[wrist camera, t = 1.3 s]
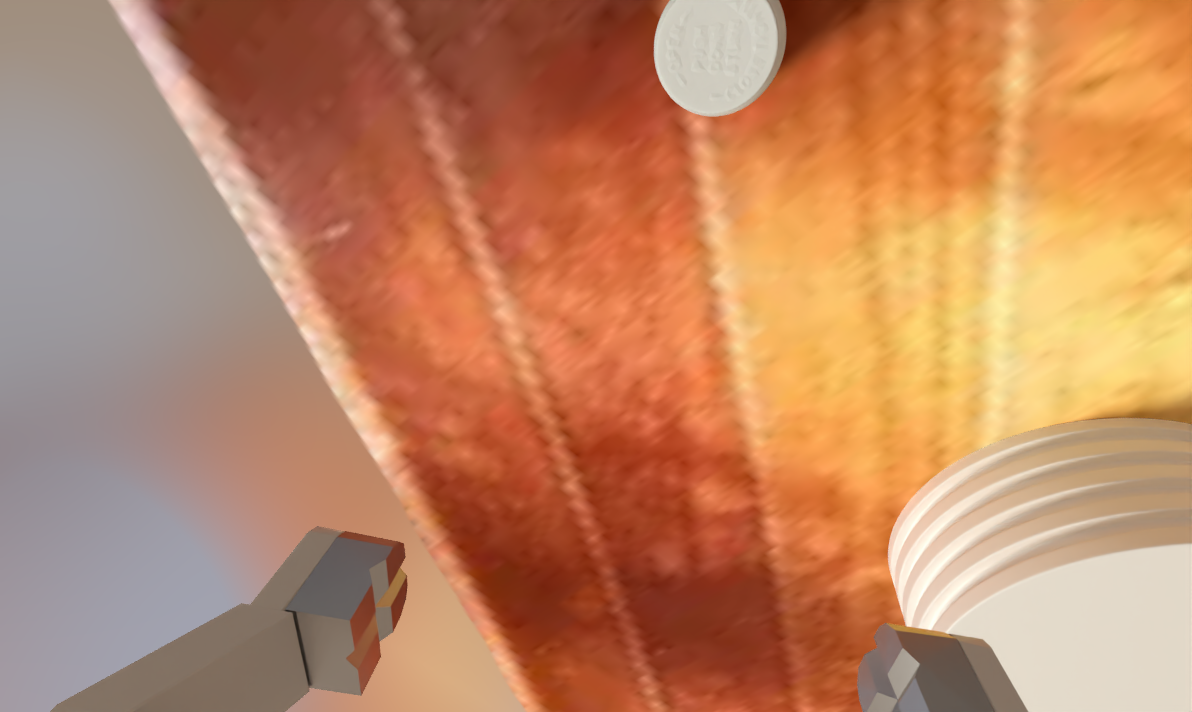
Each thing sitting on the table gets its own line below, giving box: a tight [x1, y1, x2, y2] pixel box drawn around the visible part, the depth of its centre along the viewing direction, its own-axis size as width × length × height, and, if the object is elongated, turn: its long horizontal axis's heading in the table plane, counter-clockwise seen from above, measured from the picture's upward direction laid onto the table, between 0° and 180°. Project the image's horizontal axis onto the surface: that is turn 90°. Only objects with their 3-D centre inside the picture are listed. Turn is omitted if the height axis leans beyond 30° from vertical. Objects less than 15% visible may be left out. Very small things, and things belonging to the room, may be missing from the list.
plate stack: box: [888, 418, 1192, 712], centre depth 41 cm, size 28×28×12 cm
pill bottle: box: [654, 0, 786, 116], centre depth 28 cm, size 6×6×11 cm
